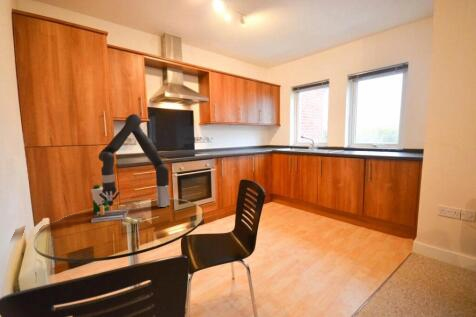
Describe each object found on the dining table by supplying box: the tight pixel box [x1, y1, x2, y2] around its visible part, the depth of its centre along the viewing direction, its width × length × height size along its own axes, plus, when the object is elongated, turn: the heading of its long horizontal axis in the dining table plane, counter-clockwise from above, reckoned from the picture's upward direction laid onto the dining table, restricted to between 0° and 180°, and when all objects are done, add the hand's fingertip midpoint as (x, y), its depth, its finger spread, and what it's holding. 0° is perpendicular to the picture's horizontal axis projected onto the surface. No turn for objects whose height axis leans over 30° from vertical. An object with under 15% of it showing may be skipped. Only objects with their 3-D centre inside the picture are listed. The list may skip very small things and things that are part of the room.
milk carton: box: [90, 184, 110, 215], centre depth 156 cm, size 9×9×20 cm
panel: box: [90, 209, 130, 224], centre depth 148 cm, size 20×13×2 cm, turn 107°
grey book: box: [91, 208, 128, 220], centre depth 147 cm, size 19×13×2 cm
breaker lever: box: [98, 205, 107, 216], centre depth 146 cm, size 4×3×6 cm
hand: (110, 205), depth 146 cm, fingers closed
